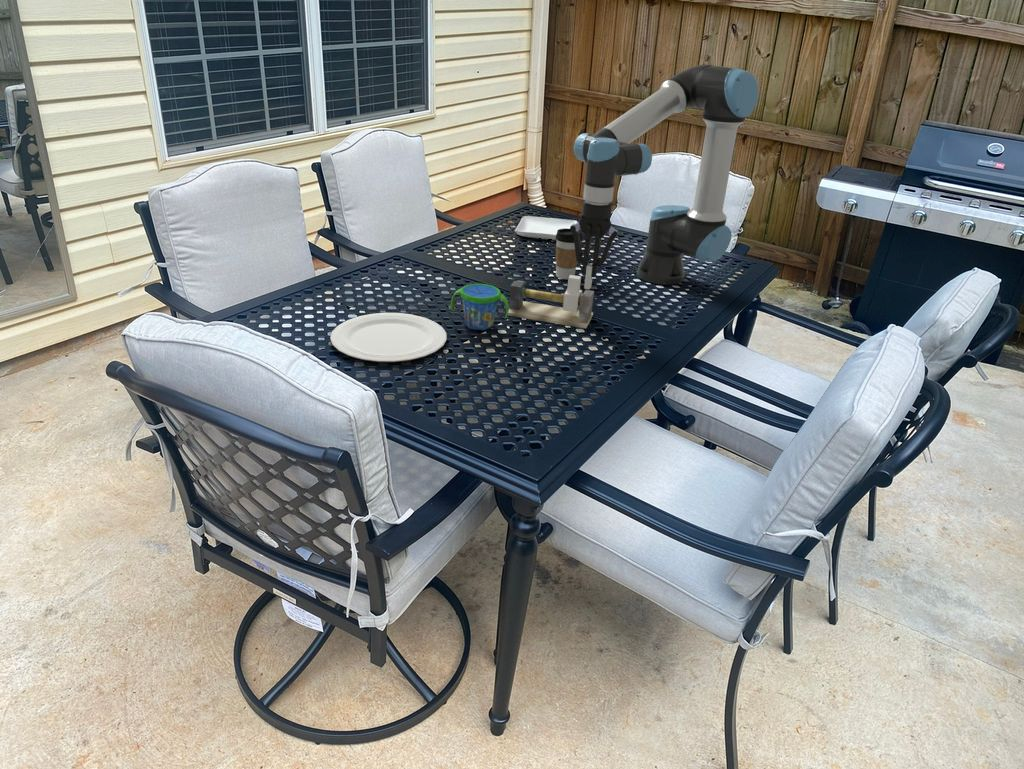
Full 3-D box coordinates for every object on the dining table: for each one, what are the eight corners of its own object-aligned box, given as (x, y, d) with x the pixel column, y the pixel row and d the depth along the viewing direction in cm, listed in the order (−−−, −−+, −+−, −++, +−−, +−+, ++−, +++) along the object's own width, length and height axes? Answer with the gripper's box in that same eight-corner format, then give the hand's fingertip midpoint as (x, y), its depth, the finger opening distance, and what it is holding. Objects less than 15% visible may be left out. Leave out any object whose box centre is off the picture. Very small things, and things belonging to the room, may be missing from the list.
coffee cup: (568, 282, 232) (573, 236, 225) (546, 276, 236) (550, 230, 229) (583, 276, 238) (588, 230, 231) (561, 269, 242) (565, 225, 235)
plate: (396, 379, 170) (396, 372, 170) (305, 345, 183) (305, 338, 182) (469, 338, 193) (469, 331, 192) (383, 310, 206) (383, 303, 205)
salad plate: (513, 239, 270) (514, 229, 268) (522, 223, 288) (523, 214, 287) (571, 245, 267) (572, 236, 266) (576, 229, 286) (577, 220, 284)
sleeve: (580, 306, 207) (583, 275, 203) (576, 312, 203) (580, 281, 199) (566, 304, 208) (569, 273, 204) (562, 310, 204) (565, 278, 200)
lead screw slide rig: (593, 315, 210) (596, 289, 206) (586, 328, 202) (589, 302, 198) (515, 302, 215) (517, 277, 211) (505, 314, 207) (507, 288, 203)
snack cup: (512, 323, 202) (514, 288, 197) (500, 338, 193) (502, 302, 188) (459, 313, 206) (460, 279, 201) (444, 328, 197) (445, 292, 192)
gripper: (624, 201, 192) (613, 286, 203) (575, 194, 195) (567, 279, 206) (620, 208, 186) (609, 295, 197) (569, 201, 188) (561, 288, 200)
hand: (587, 287), depth 201 cm, fingers closed
